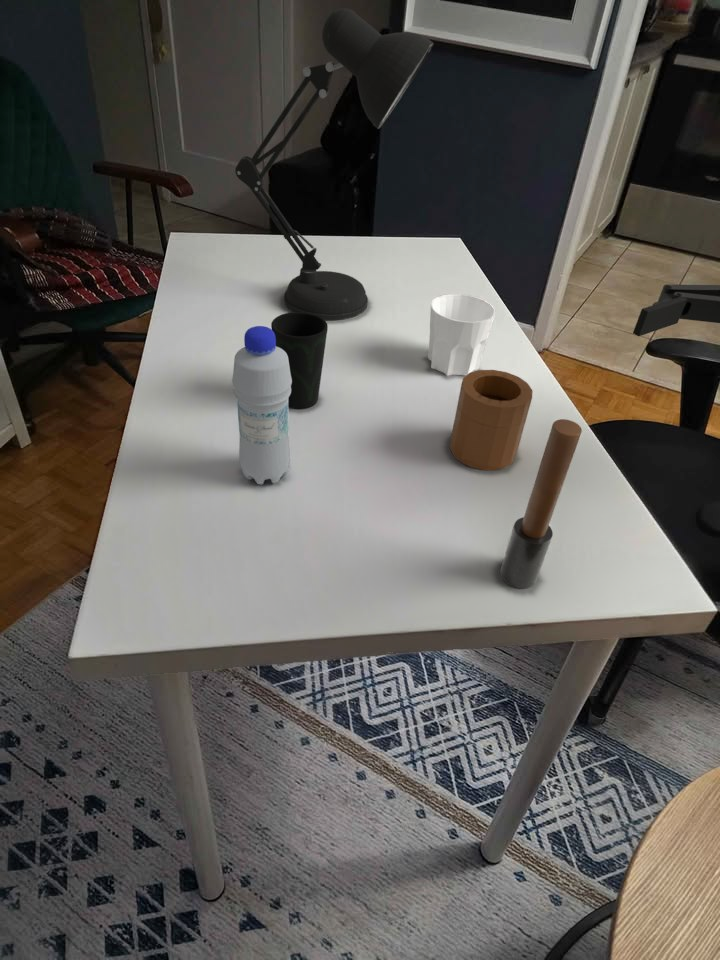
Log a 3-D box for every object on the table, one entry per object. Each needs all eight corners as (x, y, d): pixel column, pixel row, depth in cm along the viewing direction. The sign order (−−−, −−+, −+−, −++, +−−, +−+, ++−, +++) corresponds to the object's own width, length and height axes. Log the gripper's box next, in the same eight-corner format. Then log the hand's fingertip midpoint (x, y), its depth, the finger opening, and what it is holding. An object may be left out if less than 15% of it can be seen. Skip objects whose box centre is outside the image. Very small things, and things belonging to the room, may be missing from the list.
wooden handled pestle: (542, 573, 72) (596, 426, 59) (527, 594, 69) (580, 445, 57) (510, 556, 74) (555, 409, 61) (494, 576, 71) (538, 428, 58)
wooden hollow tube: (526, 448, 90) (543, 386, 84) (496, 479, 84) (513, 415, 78) (469, 423, 94) (482, 362, 87) (437, 451, 88) (449, 388, 81)
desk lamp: (423, 318, 119) (465, 20, 90) (296, 345, 108) (298, 15, 79) (356, 269, 135) (374, 2, 106) (240, 288, 124) (224, -4, 95)
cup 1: (265, 406, 93) (262, 331, 86) (283, 381, 99) (283, 307, 92) (315, 417, 92) (317, 341, 85) (331, 390, 98) (334, 317, 90)
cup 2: (476, 349, 111) (487, 295, 105) (489, 380, 103) (501, 323, 97) (419, 348, 110) (426, 293, 104) (427, 378, 103) (436, 321, 96)
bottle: (231, 485, 80) (219, 339, 67) (247, 453, 85) (239, 311, 72) (284, 494, 79) (282, 348, 66) (297, 461, 84) (298, 319, 72)
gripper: (915, 392, 65) (807, 455, 56) (700, 296, 81) (586, 332, 71) (965, 324, 61) (856, 381, 51) (726, 235, 76) (607, 266, 66)
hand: (698, 352), depth 61 cm, fingers open, 13 cm apart
